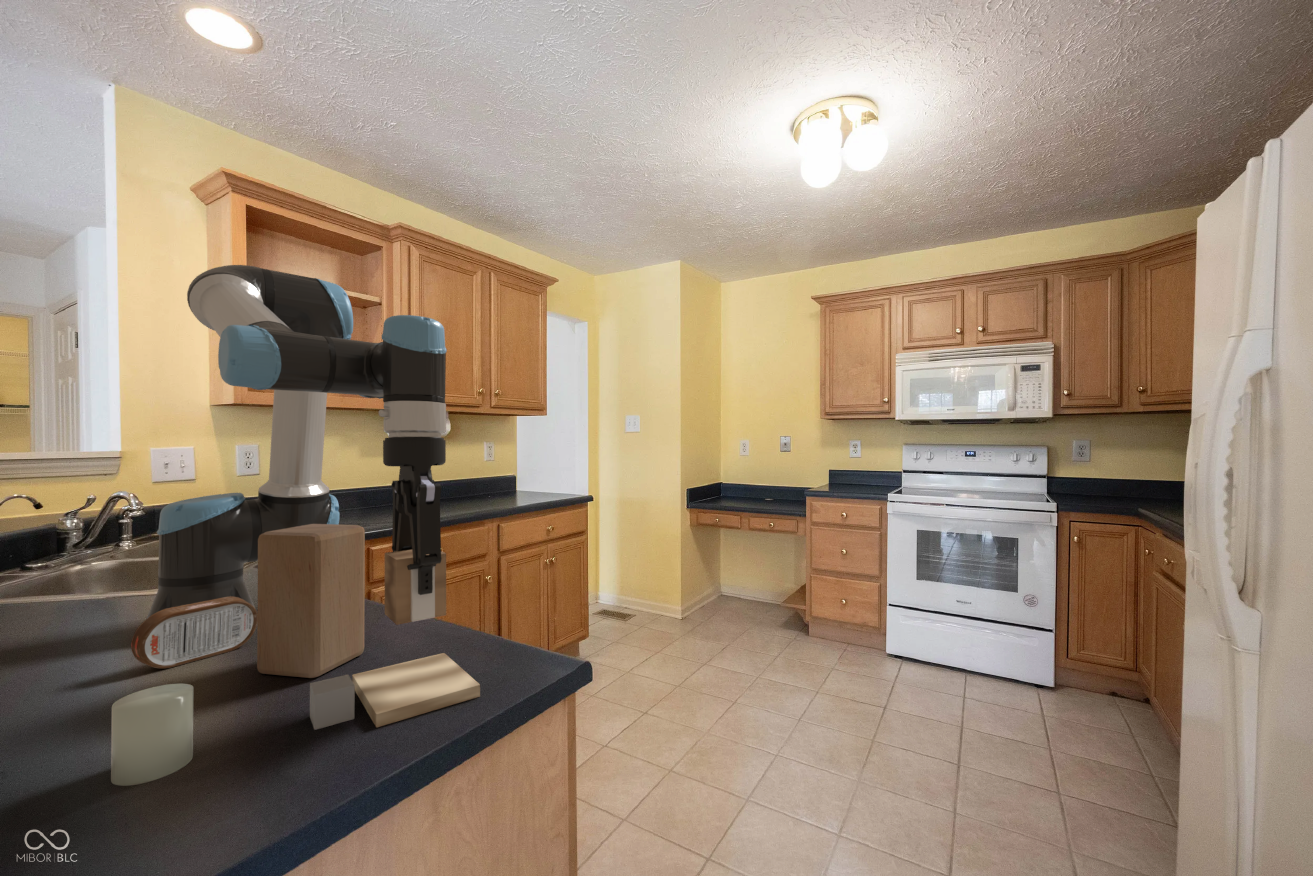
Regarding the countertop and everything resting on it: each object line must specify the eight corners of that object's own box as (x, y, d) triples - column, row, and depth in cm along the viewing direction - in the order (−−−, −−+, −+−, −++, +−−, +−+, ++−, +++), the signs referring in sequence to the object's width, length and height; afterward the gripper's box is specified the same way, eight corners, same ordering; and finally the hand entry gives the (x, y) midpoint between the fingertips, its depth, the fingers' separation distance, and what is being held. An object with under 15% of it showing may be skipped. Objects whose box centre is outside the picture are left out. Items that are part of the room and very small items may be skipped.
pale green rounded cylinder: (115, 765, 55) (116, 695, 55) (193, 744, 59) (194, 678, 59) (106, 794, 50) (107, 717, 50) (191, 769, 54) (192, 698, 54)
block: (314, 681, 74) (315, 534, 74) (253, 675, 76) (254, 532, 76) (367, 654, 84) (367, 524, 84) (312, 649, 86) (312, 522, 86)
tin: (251, 641, 90) (251, 590, 90) (260, 644, 88) (261, 592, 89) (129, 674, 77) (130, 614, 77) (138, 679, 75) (139, 618, 75)
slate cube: (309, 717, 64) (309, 683, 64) (348, 706, 67) (348, 674, 67) (314, 730, 61) (314, 695, 61) (354, 719, 64) (354, 685, 64)
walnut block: (384, 613, 71) (384, 552, 72) (431, 605, 75) (431, 547, 75) (396, 625, 67) (396, 559, 67) (446, 615, 71) (446, 553, 71)
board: (352, 686, 73) (352, 674, 73) (444, 663, 80) (444, 652, 80) (376, 727, 62) (376, 714, 62) (480, 696, 69) (480, 684, 69)
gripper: (367, 437, 76) (367, 602, 76) (404, 433, 62) (404, 638, 61) (423, 437, 81) (423, 593, 81) (469, 434, 66) (470, 624, 66)
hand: (415, 612), depth 71 cm, fingers closed on walnut block, 6 cm apart
